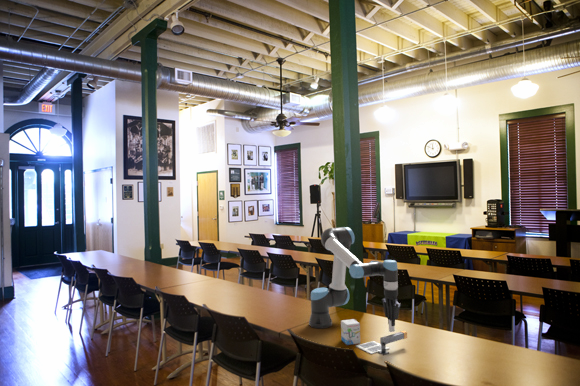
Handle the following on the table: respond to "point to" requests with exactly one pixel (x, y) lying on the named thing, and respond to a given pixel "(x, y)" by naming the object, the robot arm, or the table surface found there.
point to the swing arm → (393, 337)
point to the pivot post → (383, 350)
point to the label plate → (370, 347)
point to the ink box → (350, 331)
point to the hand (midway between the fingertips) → (391, 331)
